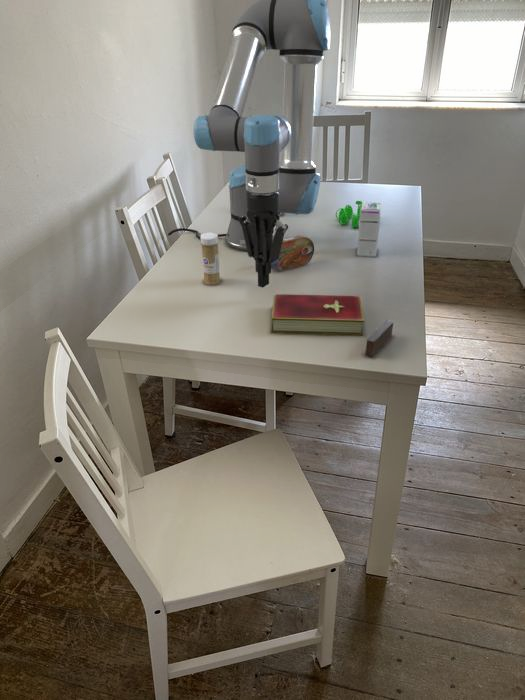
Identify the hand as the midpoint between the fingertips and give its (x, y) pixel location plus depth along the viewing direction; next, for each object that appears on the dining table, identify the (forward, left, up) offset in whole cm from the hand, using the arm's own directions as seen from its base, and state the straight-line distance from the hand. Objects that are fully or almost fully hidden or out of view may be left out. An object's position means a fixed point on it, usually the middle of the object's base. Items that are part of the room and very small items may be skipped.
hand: (263, 284), depth 132 cm
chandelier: (-6, +63, -5) cm, 64 cm away
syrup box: (+8, +42, -5) cm, 43 cm away
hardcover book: (+16, 0, -5) cm, 17 cm away
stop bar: (+33, -2, -5) cm, 33 cm away
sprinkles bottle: (-18, +1, -5) cm, 19 cm away
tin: (-6, +21, -5) cm, 23 cm away
